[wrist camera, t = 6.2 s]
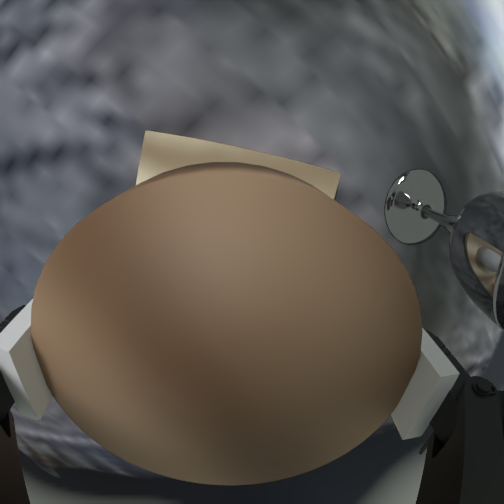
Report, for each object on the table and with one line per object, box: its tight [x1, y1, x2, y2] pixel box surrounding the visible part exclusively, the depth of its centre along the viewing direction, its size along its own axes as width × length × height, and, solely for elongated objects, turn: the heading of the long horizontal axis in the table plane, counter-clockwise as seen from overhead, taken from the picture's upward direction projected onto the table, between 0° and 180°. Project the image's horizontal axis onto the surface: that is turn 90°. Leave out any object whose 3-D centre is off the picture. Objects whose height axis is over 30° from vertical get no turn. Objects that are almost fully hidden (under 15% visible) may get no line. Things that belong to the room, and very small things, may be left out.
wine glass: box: [385, 169, 504, 330], centre depth 19 cm, size 8×8×15 cm
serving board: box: [136, 131, 341, 200], centre depth 27 cm, size 28×15×2 cm, turn 167°
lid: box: [31, 162, 422, 485], centre depth 9 cm, size 11×11×3 cm
